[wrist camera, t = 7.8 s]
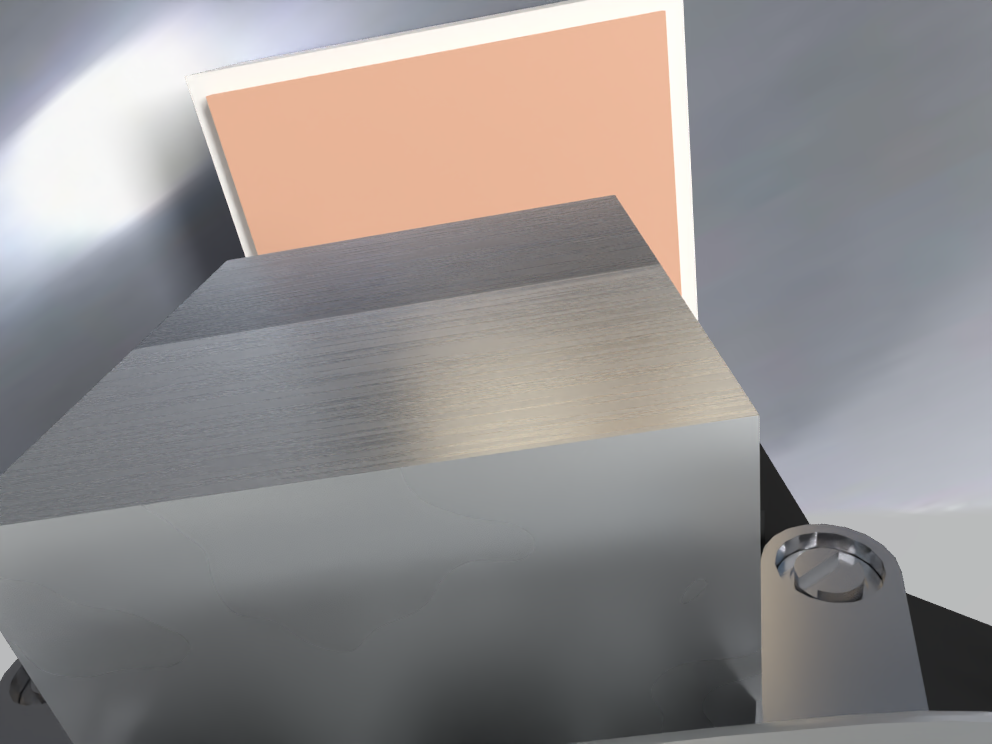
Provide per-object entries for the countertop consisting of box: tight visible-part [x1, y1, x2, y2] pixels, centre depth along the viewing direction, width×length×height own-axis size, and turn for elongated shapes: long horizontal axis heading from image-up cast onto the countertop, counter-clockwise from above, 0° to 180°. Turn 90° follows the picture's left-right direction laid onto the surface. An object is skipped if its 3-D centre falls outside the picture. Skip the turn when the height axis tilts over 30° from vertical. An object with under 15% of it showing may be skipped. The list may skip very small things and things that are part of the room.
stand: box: [185, 0, 698, 321], centre depth 22 cm, size 12×12×5 cm
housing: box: [0, 195, 762, 744], centre depth 9 cm, size 8×6×7 cm
